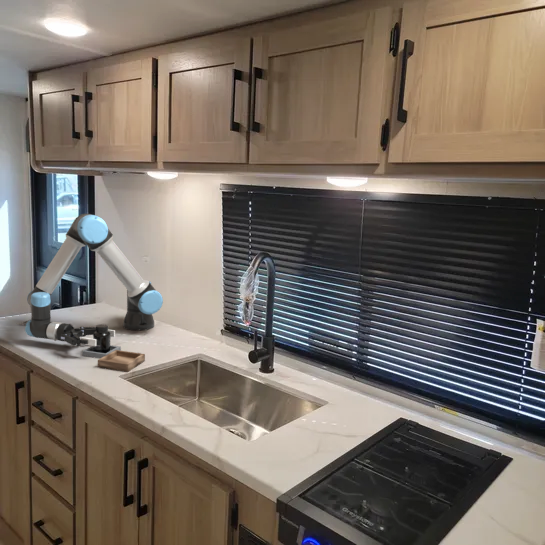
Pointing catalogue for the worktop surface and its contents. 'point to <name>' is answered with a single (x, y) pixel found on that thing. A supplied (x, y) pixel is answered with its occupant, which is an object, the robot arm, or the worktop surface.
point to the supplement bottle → (102, 339)
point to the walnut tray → (121, 360)
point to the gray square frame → (90, 353)
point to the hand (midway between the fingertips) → (105, 338)
